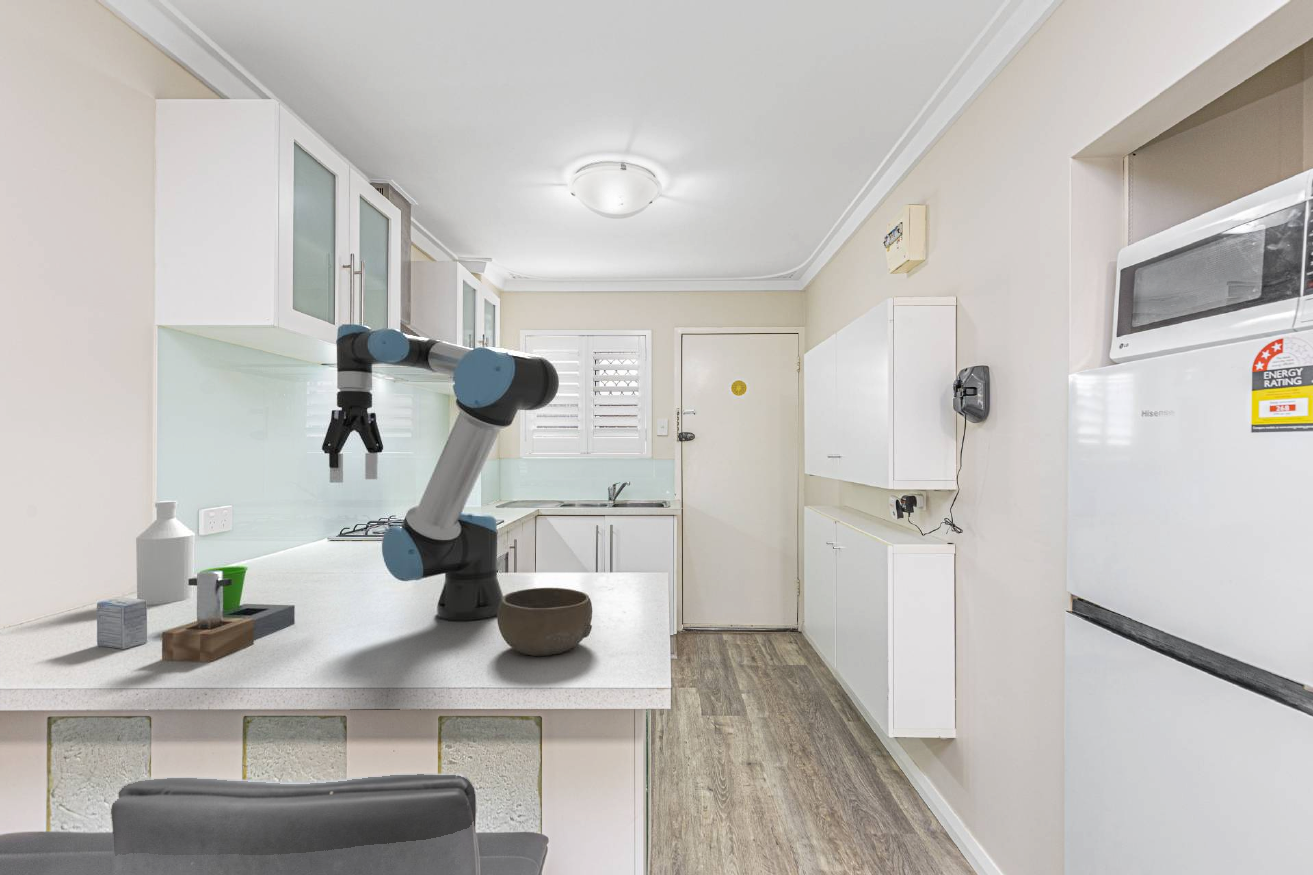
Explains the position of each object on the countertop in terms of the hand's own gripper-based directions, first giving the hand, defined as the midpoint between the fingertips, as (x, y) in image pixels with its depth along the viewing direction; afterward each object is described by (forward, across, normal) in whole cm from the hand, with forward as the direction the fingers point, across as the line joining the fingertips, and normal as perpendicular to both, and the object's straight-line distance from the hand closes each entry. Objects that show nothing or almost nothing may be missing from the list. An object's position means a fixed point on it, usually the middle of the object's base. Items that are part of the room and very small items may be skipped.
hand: (354, 481), depth 147 cm
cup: (+31, +9, -26) cm, 41 cm away
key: (+31, +30, -10) cm, 44 cm away
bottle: (+31, -6, -56) cm, 64 cm away
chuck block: (+31, +17, -13) cm, 37 cm away
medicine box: (+31, +28, -31) cm, 52 cm away
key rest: (+31, +30, -10) cm, 44 cm away
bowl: (+31, +21, +53) cm, 65 cm away
